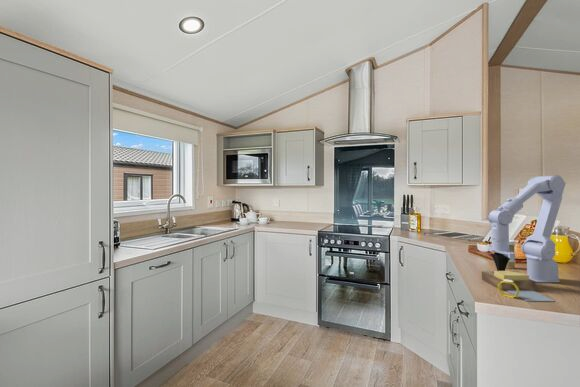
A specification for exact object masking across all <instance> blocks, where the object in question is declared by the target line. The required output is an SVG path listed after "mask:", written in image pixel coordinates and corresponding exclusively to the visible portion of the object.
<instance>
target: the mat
mask: <svg viewBox="0 0 580 387" xmlns="http://www.w3.org/2000/svg"><path fill="white" fill-rule="evenodd" d="M505 291H506V292H508V293H510V294H511V295H513V296H515V295H516V293H517V290H505ZM516 297H517V298H519V299H522V301H525V302H541V303H543V302H545V303H546V302H549V303H550V302H552V303H553V302H554V303H555V302H556V300H555V299H552V298H550V297H548V296H545V295H544V294H541V293H540V292H538V291H533V290H519V294H518V295H517V296H516Z"/></svg>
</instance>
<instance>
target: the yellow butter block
mask: <svg viewBox="0 0 580 387" xmlns="http://www.w3.org/2000/svg"><path fill="white" fill-rule="evenodd" d="M494 276H496V277H498V278H500V279H502V280H504V279H508V280H512V281H529V275H527V273H524V272H522V271H519V270H505V271H497V270H494Z"/></svg>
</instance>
